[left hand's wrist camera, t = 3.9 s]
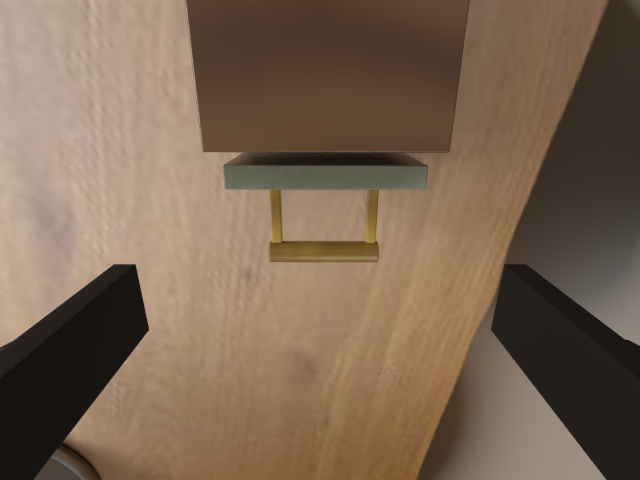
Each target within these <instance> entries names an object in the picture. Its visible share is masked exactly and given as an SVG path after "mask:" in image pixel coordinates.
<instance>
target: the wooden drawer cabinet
mask: <svg viewBox="0 0 640 480" xmlns="http://www.w3.org/2000/svg"><path fill="white" fill-rule="evenodd" d="M469 1H470V0H185V5H186V14H187V23H188V31H189V40H190V49H191V57H192V66H193V75H194V84H195V92H196V101H197V110H198V118H199V127H200V136H201V145H202V151H203V152H361V153H448V152H449V151H450V144H451V137H452V129H453V122H454V114H455V107H456V99H457V92H458V84H459V76H460V69H461V61H462V54H463V46H464V39H465V31H466V23H467V16H468V8H469Z"/></svg>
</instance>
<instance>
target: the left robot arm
mask: <svg viewBox="0 0 640 480" xmlns="http://www.w3.org/2000/svg"><path fill="white" fill-rule="evenodd" d="M148 331H149V327H148V322H147V317H146V313H145V308H144V303H143V298H142V293H141V288H140V284H139V279H138V274H137V269H136V264H114V265H113V266H111V267H110V268H109V269H107V270H106V271H105V272H103V273H102V274H101V275H99V276H98V277H97V278H96V279H94V280H93V281H92V282H90V283H89V284H88V285H86V286H85V287H84V288H82V289H81V290H80V291H78V292H77V293H76V294H75V295H73V296H72V297H71V298H69V299H68V300H67V301H65V302H64V303H63V304H61V305H60V306H59V307H57V308H56V309H55V310H53V311H52V312H51V313H50V314H48V315H47V316H46V317H44V318H43V319H42V320H40V321H39V322H38V323H36V324H35V325H34V326H32V327H31V328H30V329H28V330H27V331H26V332H25V333H23V334H22V335H21V336H19V337H18V338H17V339H15V340H14V341H12V342H10V343H8V344H6V345H4V346H2V347H0V480H99V478H98V476H97V475H96V473H95V472H94V470H93V469H92V468H91V467H90V466H89V464H88V463H87V462H86V461H84V460H83V459H82V458H81V457H80V456H78V455H77V454H76V453H74V452H73V451H71V450H69V449H68V448H66V447H64V446H62V445H61V443H62V442H63V441H64V440H65V438H66V437H67V436H68V434H69V433H70V432H71V431H72V429H73V428H74V427H75V425H76V424H77V423H78V421H79V420H80V419H81V418H82V416H83V415H84V414H85V412H86V411H87V410H88V408H89V407H90V406H91V405H92V403H93V402H94V401H95V399H96V398H97V397H98V395H99V394H100V393H101V392H102V390H103V389H104V388H105V386H106V385H107V384H108V382H109V381H110V380H111V379H112V377H113V376H114V375H115V373H116V372H117V371H118V369H119V368H120V367H121V366H122V364H123V363H124V362H125V360H126V359H127V358H128V357H129V355H130V354H131V353H132V351H133V350H134V349H135V347H136V346H137V345H138V344H139V342H140V341H141V340H142V338H143V337H144V336H145V334H146V333H147V332H148ZM491 331H492V332H493V333H494V334H495V336H496V337H497V338H498V340H499V341H500V342H501V343H502V345H503V346H504V347H505V349H506V350H507V351H508V353H509V354H510V355H511V357H512V358H513V359H514V360H515V362H516V363H517V364H518V365H519V367H520V368H521V369H522V371H523V372H524V373H525V375H526V376H527V377H528V379H529V380H530V381H531V382H532V384H533V385H534V386H535V388H536V389H537V390H538V392H539V393H540V394H541V395H542V397H543V398H544V399H545V401H546V402H547V403H548V405H549V406H550V407H551V408H552V410H553V411H554V412H555V414H556V415H557V416H558V418H559V419H560V420H561V421H562V423H563V424H564V425H565V426H566V428H567V429H568V430H569V432H570V433H571V434H572V436H573V437H574V438H575V440H576V441H577V442H578V443H579V445H580V446H581V447H582V449H583V450H584V451H585V453H586V454H587V455H588V456H589V458H590V459H591V460H592V462H593V463H594V464H595V466H596V467H597V468H598V469H599V471H600V472H601V473H602V475H603V476H604V477H605V479H606V480H640V346H639V345H637V344H635V343H633V342H631V341H629V340H625V339H623V338H622V337H621V336H619V335H618V334H617V333H615V332H614V331H613V330H612V329H610V328H609V327H608V326H606V325H605V324H604V323H602V322H601V321H600V320H598V319H597V318H596V317H594V316H593V315H592V314H590V313H589V312H588V311H587V310H585V309H584V308H583V307H581V306H580V305H579V304H577V303H576V302H575V301H573V300H572V299H571V298H569V297H568V296H567V295H565V294H564V293H563V292H561V291H560V290H559V289H557V288H556V287H555V286H554V285H552V284H551V283H550V282H548V281H547V280H546V279H544V278H543V277H542V276H540V275H539V274H538V273H537V272H535V271H534V270H533V269H531V268H530V267H529V266H527V265H525V264H504V269H503V274H502V279H501V284H500V288H499V293H498V298H497V303H496V308H495V313H494V317H493V322H492V327H491Z"/></svg>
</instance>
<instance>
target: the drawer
mask: <svg viewBox="0 0 640 480" xmlns="http://www.w3.org/2000/svg"><path fill="white" fill-rule="evenodd" d="M427 174H428V166H427V165H425V164H424V163H422V162H420V161H418V160H416V159H414V158H412V157H411V156H409V155H407V154H405V153H361V152H244V153H243V154H241V155H239V156H238V157H236V158H234V159H233V160H231V161H229V162H228V163H226V164H224V165H223V176H224V187H225V189H270V204H271V224H272V241H270V244H269V260H270V262H377V261H378V258H379V246H378V242H377V241H375V240H376V224H377V208H378V193H379V190H425V189H426V183H427ZM281 190H368V191H367V210H366V229H365V241H282V240H283V237H282V210H281Z"/></svg>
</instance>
